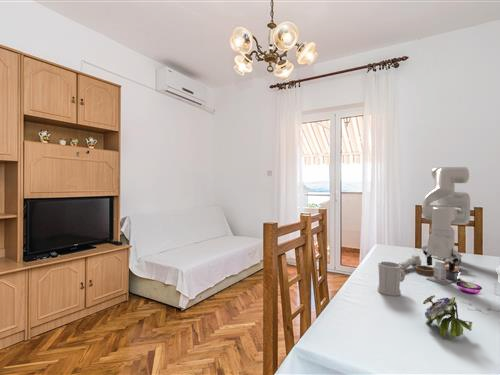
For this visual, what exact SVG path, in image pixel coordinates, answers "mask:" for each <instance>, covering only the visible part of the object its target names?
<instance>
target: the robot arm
mask: <svg viewBox="0 0 500 375" xmlns="http://www.w3.org/2000/svg"><path fill="white" fill-rule="evenodd" d="M469 171H470V170H469V169H468V167H466V166H438V167H434V168H432V170H431V176H432V179H434V189H433V190H431V191H430V192H428V193H427V195H426V196H425V197H424V199H423V202H422V206H421V207H422V208H421V216H422V218H424V219H426V220H429V221H430V220H431V227H430V228H429V229H428V231H429V232H431V234H429V236H428V240H427V245H425V246H421V251H422V253H423V254H424V256H425V258H426V266H429V267H431V266H433V258H434V259H437V260H439V261H440V260H441V261H444V258H448V260H449V261H450V263H449V271H450V272H451V271H454V270H455V263H456V262H457V261H459V260H460V258H461V259H462V256H463V254H461V253H460V252H459V251H458V252H459V253H458V252H456V251H457V250H455V234H456V232H455V229H454V228H453V227H452V224H453V225H463V226H465V225H468V224H469V223H470V221H471V197H470V194H469V193H468V192H464V191H455V190H456V189H455V187H456V186H455V184H468V182H469V179H470V172H469ZM436 201H437V204H438V205H437V204H436V205H435V204H433V202H436ZM454 254H455V255H456V256H457V257H456V258H455V259H454V257H453V256H454Z"/></svg>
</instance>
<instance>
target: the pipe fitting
mask: <svg viewBox="0 0 500 375" xmlns="http://www.w3.org/2000/svg"><path fill="white" fill-rule="evenodd" d="M455 251H456V252H458V253H459V254H460V252H459V251H457V250H455ZM453 257H454V259H455V258H456V257H457V256H456V255H455V254H454V256H453ZM443 262H445V265H447V264H449V263H450V261H449V260H448V258H444V260H443ZM461 265H462V257H461V258H460V260H459V261H457V262H456V263H455V266H457V267H460V266H461Z"/></svg>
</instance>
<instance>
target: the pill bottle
mask: <svg viewBox="0 0 500 375" xmlns="http://www.w3.org/2000/svg"><path fill="white" fill-rule="evenodd" d="M433 268H434V279H435V280H439V281H445V280H446V267H445V262H444V261H442V260H441V261H440V260H436V261H434V266H433Z"/></svg>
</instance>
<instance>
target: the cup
mask: <svg viewBox="0 0 500 375" xmlns="http://www.w3.org/2000/svg"><path fill="white" fill-rule="evenodd" d="M377 264H378V265H377V266H378V285H377V291H378V292H379V293H381V294H383V295H386V296H389V297H395V296H396V297H397V296H400V295H401V292H402V291H401V289H400V286H401V285H400V284H401V283H402V282H404V280H405V277H406V272H405V271H403V270H401V265H399V263H397V262H391V261H379V262H378V263H377Z"/></svg>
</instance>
